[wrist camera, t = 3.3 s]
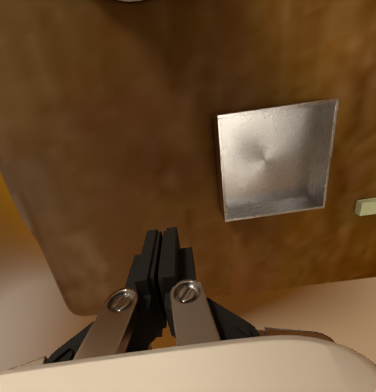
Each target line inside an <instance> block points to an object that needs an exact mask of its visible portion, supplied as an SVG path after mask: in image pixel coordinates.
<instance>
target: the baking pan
mask: <svg viewBox="0 0 376 392" xmlns="http://www.w3.org/2000/svg"><path fill="white" fill-rule="evenodd" d="M338 105H339V98H332V99H319V100H311V101H304V102H298V103H291V104H284V105H277V106H270V107H263V108H256V109H249V110H242V111H235V112H228V113H221V114H214V115H212V123H213V135H214V147H215V159H216V171H217V183H218V195H219V207H220V211H221V213H222V216H223V218H224V220H225V222H228V221H235V220H242V219H249V218H256V217H264V216H271V215H278V214H285V213H292V212H300V211H307V210H314V209H321V208H325V203H326V195H327V188H328V180H329V173H330V165H331V158H332V150H333V142H334V135H335V127H336V120H337V112H338Z"/></svg>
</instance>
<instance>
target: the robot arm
mask: <svg viewBox="0 0 376 392" xmlns="http://www.w3.org/2000/svg"><path fill="white" fill-rule="evenodd" d="M119 1H126V2H132V1H142V0H119ZM167 321H168V325H169V327H170V331H171V335H172V336H174V337H175V338H176V343H177V346H175V347H168V348H160V349H152V342H153V341H154V339H155V338H156V337H162V329H163V328H166V325H167ZM0 392H376V364H374V363H373V362H372V361H370V360H369V359H368V358H366V357H365V356H363V355H362V354H360V353H358V352H356V351H355V350H353V349H350V348H348V347H346V346H343V345H340V344H337V343H335V342H334V341H333V340H332V339H331V338H330V337H328V336H326V335H324V334H322V333H318V332H311V331H301V330H290V329H280V328H270V327H265V330H259V329H255V327H254V326H252V325H251V324H250V323H248V322H247V321H245V320H244V319H242V318H240V317H239V316H236V315H235V314H234V313H232V312H230V311H229V310H227V309H225V308H224V307H222V306H220V305H219V304H217V303H216V302H214V301H212V300H211V299H209V298H207V297H206V295H205V293H204V290H203V287H202V285H201V284H200V283H199V282H198V281H196V275H195V266H194V259H193V252H192V247H190V248H182V249H180V244H179V238H178V233H177V228H176V227H172V228H167V231H164V232H163V237H162V233H161V232H158V230H150V231H147V235H146V238H145V242H144V246H143V250H142V253H141V254H139V255H135V257H134V260H133V263H132V266H131V269H130V272H129V275H128V279H127V282H126V285H125V288H122V289H119V290H117V291H115V292H113V293H112V294H111V295H110V296H109V297H108V298H107V300H106V301H105V303H104V305H103V306H102V308H101V310H100V312H99V313H98V315H97V317H96V319H95V321H93V322H92V323H91V324H90V325H88V326H87V327H86V328H84V329H83V330H82V331H80V332H79V333H78V334H77V335H75V336H74V337H73V338H71V339H70V340H69V341H68V342H66V343H65V344H64V345H62V346H61V347H60V348H59V349H57V350H56V351H55V352H54V353H53V354H52V355H51V356H50V357H49V358H48V359H47V358H46V356H45V357H42V358H39V359H36V360H33V361H30V362H28V363H25V364H22V365H19V366H16V367H13V368H11V369H8V370H4V371H0Z"/></svg>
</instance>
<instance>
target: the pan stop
mask: <svg viewBox="0 0 376 392" xmlns="http://www.w3.org/2000/svg"><path fill="white" fill-rule="evenodd" d="M354 213H355V214H357V215H359V216H364V215H371V214H376V198H369V199H362V200H357V201H356V206H355V212H354Z"/></svg>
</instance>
